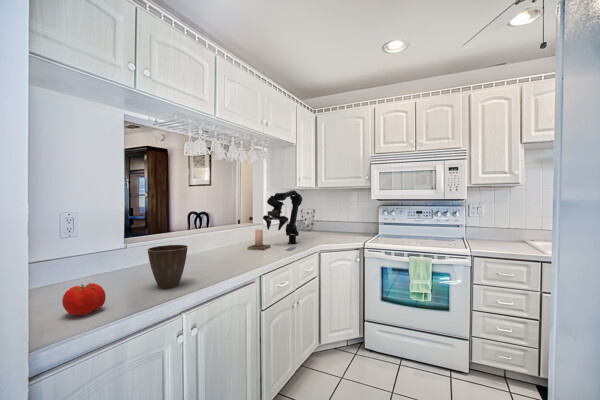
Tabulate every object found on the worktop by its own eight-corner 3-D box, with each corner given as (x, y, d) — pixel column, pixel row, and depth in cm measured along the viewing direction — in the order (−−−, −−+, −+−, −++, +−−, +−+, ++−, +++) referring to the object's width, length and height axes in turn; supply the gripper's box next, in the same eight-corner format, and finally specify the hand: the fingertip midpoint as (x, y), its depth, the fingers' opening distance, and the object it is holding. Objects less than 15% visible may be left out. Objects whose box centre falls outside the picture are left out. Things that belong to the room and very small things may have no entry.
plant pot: (139, 289, 110) (138, 249, 110) (170, 279, 124) (170, 243, 124) (166, 294, 104) (165, 252, 104) (195, 283, 118) (195, 245, 118)
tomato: (57, 323, 81) (57, 293, 81) (70, 309, 91) (69, 283, 91) (101, 316, 85) (101, 288, 85) (108, 304, 95) (108, 278, 95)
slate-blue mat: (281, 247, 203) (281, 246, 203) (295, 248, 200) (295, 247, 200) (275, 250, 192) (275, 249, 192) (290, 250, 189) (290, 250, 189)
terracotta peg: (257, 247, 199) (257, 229, 198) (263, 248, 197) (263, 229, 197) (254, 248, 194) (253, 230, 193) (260, 249, 192) (260, 230, 192)
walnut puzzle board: (255, 247, 203) (255, 244, 203) (270, 248, 199) (270, 244, 199) (247, 250, 191) (247, 246, 191) (263, 251, 188) (263, 247, 188)
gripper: (260, 205, 199) (256, 226, 194) (282, 205, 190) (278, 227, 185) (269, 210, 208) (265, 230, 204) (290, 210, 199) (286, 231, 194)
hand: (273, 230), depth 196 cm, fingers open, 9 cm apart
